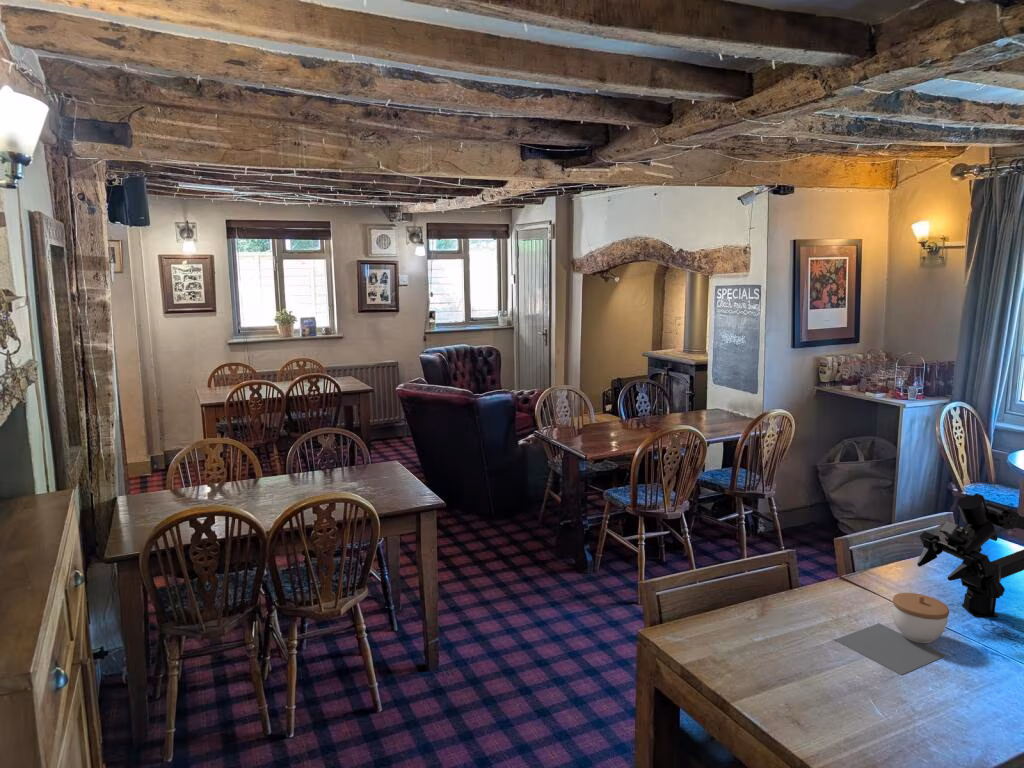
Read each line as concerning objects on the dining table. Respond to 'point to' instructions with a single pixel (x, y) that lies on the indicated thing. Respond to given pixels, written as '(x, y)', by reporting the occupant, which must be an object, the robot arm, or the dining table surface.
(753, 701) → the dining table surface
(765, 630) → the dining table surface
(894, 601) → the lidded bowl
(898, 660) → the placemat
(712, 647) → the dining table surface
